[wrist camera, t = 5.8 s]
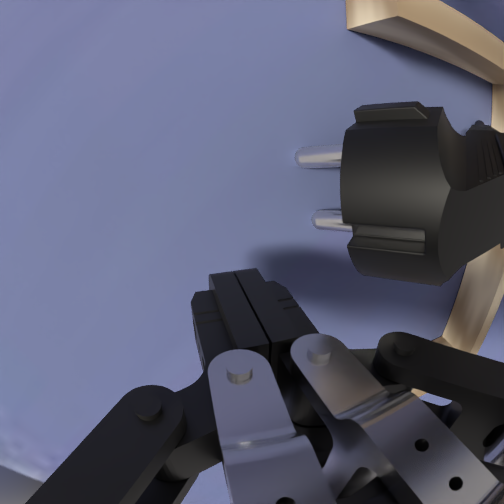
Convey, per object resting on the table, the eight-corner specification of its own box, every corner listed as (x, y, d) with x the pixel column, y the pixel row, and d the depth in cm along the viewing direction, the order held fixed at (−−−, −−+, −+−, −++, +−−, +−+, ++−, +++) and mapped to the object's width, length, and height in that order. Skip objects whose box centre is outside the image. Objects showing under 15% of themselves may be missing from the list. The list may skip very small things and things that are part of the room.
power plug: (494, 173, 14) (502, 336, 7) (380, 169, 19) (286, 296, 11) (486, 76, 11) (534, 131, 4) (362, 82, 16) (234, 144, 9)
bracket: (345, -3, 9) (394, -22, 6) (502, 67, 12) (540, 73, 9) (312, 399, 18) (333, 435, 15) (447, 344, 21) (470, 366, 18)
